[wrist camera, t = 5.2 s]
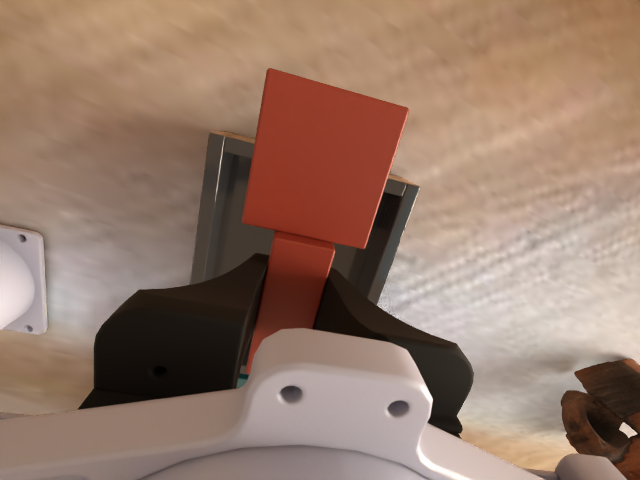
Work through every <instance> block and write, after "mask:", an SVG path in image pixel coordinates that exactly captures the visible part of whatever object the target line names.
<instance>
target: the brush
mask: <svg viewBox="0 0 640 480" xmlns="http://www.w3.org/2000/svg"><path fill="white" fill-rule="evenodd" d="M408 113H409V109H408V108H407V107H403V106H400V105H396V104H393V103H389V102H386V101H382V100H379V99H375V98H372V97H368V96H365V95H361V94H358V93H355V92H351V91H348V90H344V89H341V88H337V87H334V86H330V85H327V84H323V83H320V82H316V81H313V80H309V79H306V78H303V77H299V76H296V75H292V74H289V73H285V72H282V71H278V70H275V69H271V68H269V69H268V70H267V73H266V79H265V85H264V91H263V97H262V103H261V109H260V115H259V121H258V126H257V132H256V138H255V144H254V150H253V156H252V162H251V168H250V174H249V180H248V186H247V192H246V198H245V204H244V210H243V215H242V223H243V224H246V225H251V226H256V227H261V228H265V229H270V230H275V232H274V237H273V242H272V246H271V251H270V256H269V261H268V266H267V270H266V275H265V280H264V285H263V289H262V294H261V299H260V304H259V309H258V313H257V318H256V323H255V328H254V332H253V337H252V342H251V347H250V352H249V356H248V361H247V366H246V373H248V374H250V371H251V366H252V362H253V357H254V354H255V352H256V351H257V349H258V347H259V346H260V344H261V342H262V341H263V339H265V338H266V337H268V336H270V335H272V334H274V333H276V332H277V331H279V330H281V329H294V328H307V329H313V327H314V324H315V320H316V317H317V313H318V310H319V306H320V303H321V299H322V296H323V292H324V289H325V285H326V282H327V278H328V275H329V271H330V268H331V264H332V261H333V257H334V254H335V249H334V245H333V243H337V244H341V245H346V246H351V247H356V248H360V249H365V247H366V244H367V241H368V238H369V235H370V232H371V228H372V225H373V222H374V219H375V216H376V213H377V210H378V207H379V204H380V200H381V197H382V194H383V191H384V188H385V185H386V182H387V179H388V176H389V172H390V169H391V166H392V163H393V160H394V157H395V154H396V151H397V148H398V144H399V141H400V138H401V135H402V132H403V129H404V126H405V123H406V119H407V116H408Z"/></svg>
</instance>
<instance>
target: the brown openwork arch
mask: <svg viewBox="0 0 640 480" xmlns="http://www.w3.org/2000/svg"><path fill="white" fill-rule="evenodd" d="M575 375H576V377H577V378H578V379H579V380H580V382H581V383H582V385H583V387H584V388H585V390H586V391H587V393H588V394H586V393H583V392H579V391H575V390H573V391H570V390H569V391H566V393H565V394H564V395H563V397H562V400H561V406H562V420H563V424H564V427H565V430H566V432H567V434H566V437H567V439H568V440H569V442H570V444H571V446H573V447H574V448H575V449H576V451H577V452H578V453H579V454H585V455H593V456H602V457H606V458H607V459H608V460H609V461H610V462H611V463H612V464H613V465H614V466H615V467H616V468H617V470H618V471H619V472H620V473H621V474H622V475H623V476H624V477H625V478H626V479H627V480H640V365H638V364H637V363H636V362H635V361H634V360H632V359H625V360H618V361H614V362H605V363H601V364H597V365H593V366H590V367H587V368H584V369H581V370H579V371H576V372H575ZM623 422H625V423H626V424H627V425H629V426H630V427H631V428H632V429H633V430H634V431H636V432H637V435H635V436H631V437H630V438H628V436H627V435H626V434H625V433H623V432H622V431H620V430H619V428H620V426H621V424H622V423H623Z"/></svg>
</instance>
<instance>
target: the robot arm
mask: <svg viewBox="0 0 640 480" xmlns="http://www.w3.org/2000/svg"><path fill="white" fill-rule="evenodd" d="M22 235H24V236H25V237H26V239H24V238H23V236H22ZM269 256H270V255H265V254H260V253H255V254H253V255H252V256H251V257H250V258H248V259H247V260H246V261H245V262H243V263H242V264H240V265H239V266H237V267H236V268H234V269H232V270H231V271H229V272H227V273H225V274H223V275H221V276H218V277H216V278H213V279H210V280H207V281H204V282H200V283H196V284H193V285H188V286H182V287H175V288H166V289H147V290H138V291H137V292H136V293H135V294H133V295H132V296H131V297H130V298H129V299H127V300H126V301H125V302H124V303H123V304H122V305H121V306H120V307H119V308H118V309H117V310H116V311H115V312H114V313H113V314H112V315H111V316H110V317H109V318H108V319H107V320H106V321H105V322H104V324H103V325H102V326H101V328H100V329H99V331H98V333H97V334H96V338H95V343H94V389H93V390H92V392H91V393H90V394H89V395H88V397H87V398H86V399H85V401H84V402H83V403H82V404H81V406H80V407H79V408H78V410H73V411H66V412H59V413H51V414H44V415H36V416H33V415H24V414H14V413H5V412H0V480H627V479H626V478H625V477H624V476H623V475H622V474H621V473H620V472H619V471H618V470H617V468H616V467H615V466H614V465H613V464H612V463H611V462H610V461H609V460H608V459H607V458H606V457H602V456H593V455H585V454H577V453H575V454H569V455H567V456H565V457H564V458H563V459H561V460H560V462H559V463H558V465H557V467H556V469H555V472H552V471H543V470H533V469H524V468H520V467H518V466H516V465H514V464H512V463H510V462H508V461H505V460H503V459H501V458H499V457H497V456H495V455H493V454H491V453H489V452H487V451H485V450H483V449H480V448H478V447H476V446H474V445H472V444H470V443H468V442H466V441H464V440H462V439H461V437H460V435H459V434H458V433H461V432H462V425H461V423H460V421H459V419H458V418H457V414H458V413H459V411H460V409H461V407H462V405H463V403H464V401H465V400H466V398H467V396H468V394H469V392H470V390H471V387H472V384H473V377H474V372H473V369H472V366H471V364H470V362H469V361H468V359H467V358H466V356H465V355H464V354H463V352H462V351H461V349H460V348H459V347H458V345H457V344H456V343H453V342H450V341H447V340H445V339H442V338H439V337H436V336H433V335H430V334H428V333H426V332H423V331H421V330H419V329H417V328H414V327H412V326H410V325H408V324H406V323H404V322H402V321H401V320H399V319H397V318H395V317H393V316H392V315H390V314H388V313H387V312H385V311H384V310H382V309H381V308H379V307H378V306H377V305H375V304H374V303H372V302H371V301H370V300H369V299H367V298H366V297H365V296H364V295H363V294H361V293H360V292H359V291H358V290H357V289H356V288H355V287H354V286H353V285H352V284H351V283H350V282H349V281H348V280H347V279H346V278H345V277H344V276H343V275H342V274H341V273H340V272H339V271H337V270H336V269H335V268H330V271H329V275H328V278H327V282H326V285H325V289H324V292H323V296H322V299H321V303H320V306H319V310H318V313H317V317H316V320H315V324H314V327H313V329H307V328H294V329H281V330H279V331H277V332H276V333H274V334H272V335H270V336H268V337H266V338H265V339H263V341H262V342H261V344H260V346H259V347H258V349H257V351H256V352H255V354H254V357H253V362H252V366H251V371H250V375H249V377H248V380H247V382H246V383H245V384H244V385H243V386H242V387H240V388H237V389H236V387H237V383H238V378H239V374H240V369H241V365H242V362H243V359H244V355H245V352H246V350H247V347H248V344H249V341H250V338H251V335H252V332H253V329H254V326H255V323H256V318H257V313H258V309H259V304H260V299H261V294H262V289H263V285H264V280H265V275H266V270H267V266H268V261H269ZM1 329H3V330H9V331H16V332H22V333H29V334H36V335H41V334H43V333H44V332H46V331H47V329H48V321H47V301H46V282H45V263H44V243H43V237H42V236H41V234H39V233H38V232H35V231H31V230H26V229H21V228H16V227H11V226H6V225H0V330H1Z"/></svg>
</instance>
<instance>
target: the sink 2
mask: <svg viewBox="0 0 640 480" xmlns="http://www.w3.org/2000/svg"><path fill="white" fill-rule="evenodd" d="M254 144H255V139H254V138H250V137H247V136H243V135H239V134H235V133H231V132H228V131H220V132H210V133H209V139H208V147H207V155H206V163H205V170H204V178H203V186H202V194H201V202H200V209H199V217H198V225H197V233H196V241H195V248H194V256H193V264H192V272H191V280H190V285H193V284H196V283H200V282H204V281H207V280H210V279H213V278H216V277H218V276H221V275H223V274H225V273H227V272H229V271H231V270H232V269H234V268H236V267H237V266H239V265H240V264H242V263H243V262H245V261H246V260H247V259H248V258H250V257H251V256H252V255H253V254H255V253H260V254H265V255H270V251H271V246H272V242H273V237H274V232H275V230H270V229H265V228H261V227H256V226H251V225H246V224H243V223H242V215H243V210H244V204H245V198H246V192H247V186H248V180H249V174H250V168H251V162H252V156H253V150H254ZM419 189H420V187H419V186H418V185H416V184H414V183H412V182H410V181H408V180H406V179H404V178H402V177H399V176H395V175H392V174H389V176H388V179H387V182H386V185H385V188H384V191H383V194H382V197H381V200H380V204H379V207H378V210H377V213H376V216H375V219H374V222H373V225H372V228H371V232H370V235H369V238H368V241H367V244H366V247H365V249H360V248H356V247H351V246H346V245H341V244H337V243H333V245H334V249H335V254H334V257H333V261H332V264H331V268H335V269H336V270H337V271H339V272H340V273H341V274H342V275H343V276H344V277H345V278H346V279H347V280H348V281H349V282H350V283H351V284H352V285H353V286H354V287H355V288H356V289H357V290H358V291H359V292H360V293H361V294H363V295H364V296H365V297H366V298H367V299H369V300H370V301H371V302H372V303H374V304H375V305H377V303H378V300H379V297H380V294H381V292H382V289H383V286H384V284H385V281H386V278H387V276H388V273H389V270H390V267H391V265H392V262H393V259H394V257H395V254H396V251H397V249H398V246H399V243H400V240H401V238H402V235H403V232H404V230H405V227H406V224H407V222H408V219H409V216H410V213H411V211H412V208H413V205H414V203H415V200H416V197H417V195H418V192H419ZM254 328H255V326H254ZM253 332H254V329H253ZM253 332H252V335H251V338H250V341H249V344H248V347H247V350H246V352H245V355H244V359H243V362H242V365H241V369H240V374H246V375H250V374H248V373H246V366H247V361H248V356H249V352H250V347H251V342H252V337H253Z"/></svg>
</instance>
